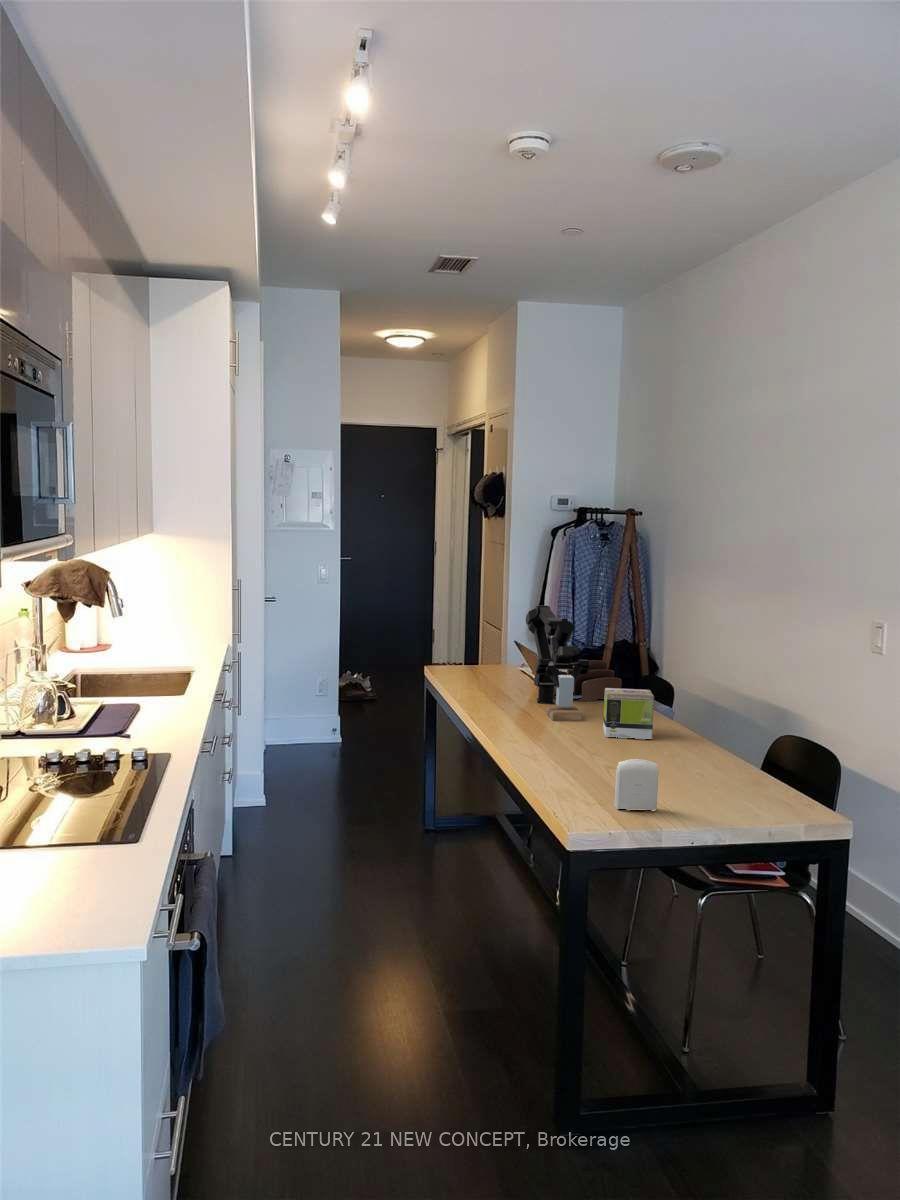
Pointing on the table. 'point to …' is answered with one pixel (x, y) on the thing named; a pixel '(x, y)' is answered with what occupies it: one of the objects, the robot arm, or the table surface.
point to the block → (564, 713)
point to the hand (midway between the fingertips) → (566, 687)
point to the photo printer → (636, 785)
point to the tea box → (628, 713)
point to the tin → (565, 690)
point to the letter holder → (595, 681)
